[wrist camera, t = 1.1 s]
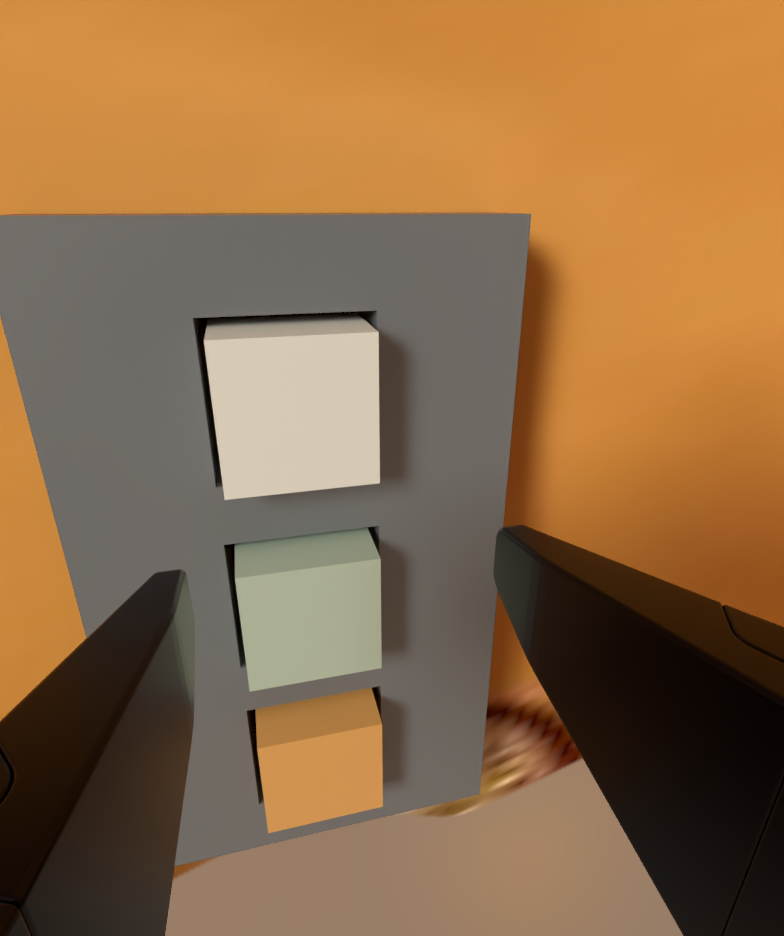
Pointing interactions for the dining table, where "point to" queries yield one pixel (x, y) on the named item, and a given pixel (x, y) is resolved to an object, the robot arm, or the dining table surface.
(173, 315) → the panel
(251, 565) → the sage button
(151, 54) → the dining table surface
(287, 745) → the orange button
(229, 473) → the off white button
